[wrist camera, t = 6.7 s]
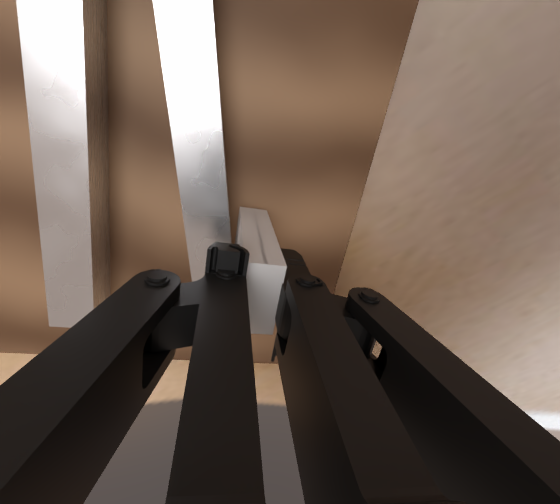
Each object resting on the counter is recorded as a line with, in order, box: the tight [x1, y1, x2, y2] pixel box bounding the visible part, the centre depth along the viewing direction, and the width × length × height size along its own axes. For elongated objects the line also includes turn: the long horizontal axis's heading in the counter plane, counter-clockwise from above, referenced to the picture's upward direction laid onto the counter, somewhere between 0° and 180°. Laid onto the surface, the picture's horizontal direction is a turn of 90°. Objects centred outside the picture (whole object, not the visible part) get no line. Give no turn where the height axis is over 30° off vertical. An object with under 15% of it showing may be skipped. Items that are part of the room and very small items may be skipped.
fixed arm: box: [16, 0, 111, 328], centre depth 13 cm, size 23×2×2 cm, turn 169°
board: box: [0, 0, 419, 364], centre depth 16 cm, size 28×19×1 cm
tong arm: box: [153, 0, 232, 282], centre depth 14 cm, size 19×3×3 cm, turn 1°
